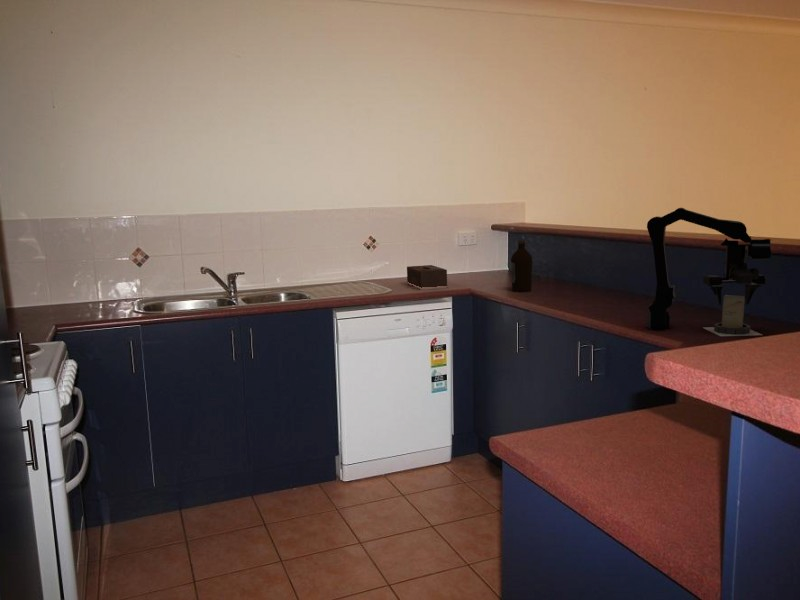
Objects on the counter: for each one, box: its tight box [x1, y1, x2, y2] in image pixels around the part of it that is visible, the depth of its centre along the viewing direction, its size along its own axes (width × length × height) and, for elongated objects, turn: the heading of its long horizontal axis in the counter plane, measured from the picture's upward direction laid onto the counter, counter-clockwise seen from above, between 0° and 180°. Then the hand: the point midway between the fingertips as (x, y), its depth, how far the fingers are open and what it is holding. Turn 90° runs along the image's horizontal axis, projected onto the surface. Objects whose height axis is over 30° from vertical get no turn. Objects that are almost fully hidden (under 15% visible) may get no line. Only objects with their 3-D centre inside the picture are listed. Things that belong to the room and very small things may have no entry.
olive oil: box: [510, 240, 534, 293], centre depth 330 cm, size 11×11×25 cm
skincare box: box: [721, 294, 745, 328], centre depth 225 cm, size 6×4×12 cm
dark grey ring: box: [713, 321, 751, 335], centre depth 226 cm, size 11×11×2 cm
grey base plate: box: [703, 326, 763, 337], centre depth 226 cm, size 14×14×1 cm
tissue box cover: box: [406, 264, 448, 288], centre depth 359 cm, size 26×14×10 cm, turn 16°
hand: (733, 304), depth 225 cm, fingers open, 9 cm apart
